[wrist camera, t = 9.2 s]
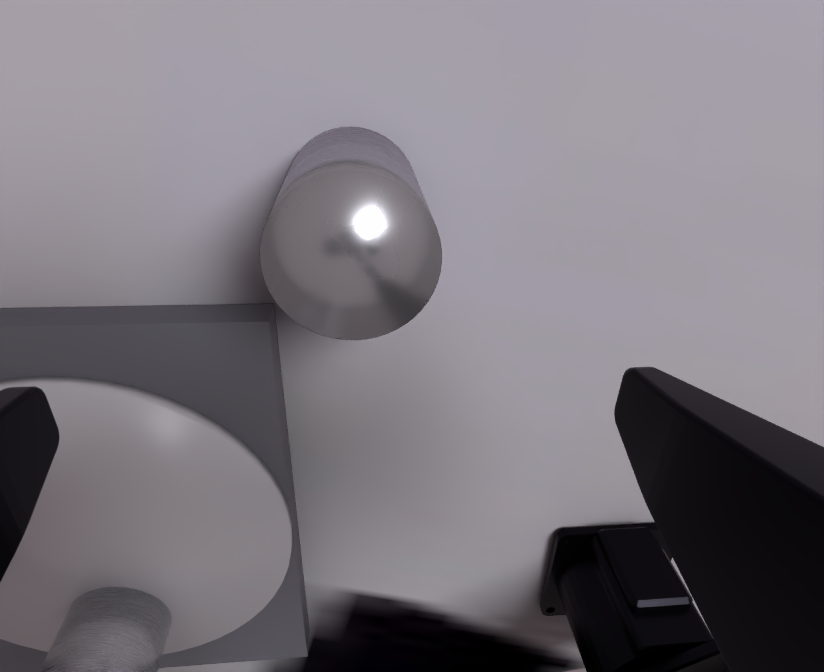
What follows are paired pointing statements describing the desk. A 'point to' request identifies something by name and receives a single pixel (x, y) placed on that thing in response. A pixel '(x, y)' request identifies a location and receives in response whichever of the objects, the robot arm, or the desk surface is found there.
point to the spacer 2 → (351, 238)
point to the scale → (159, 479)
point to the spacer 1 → (111, 633)
